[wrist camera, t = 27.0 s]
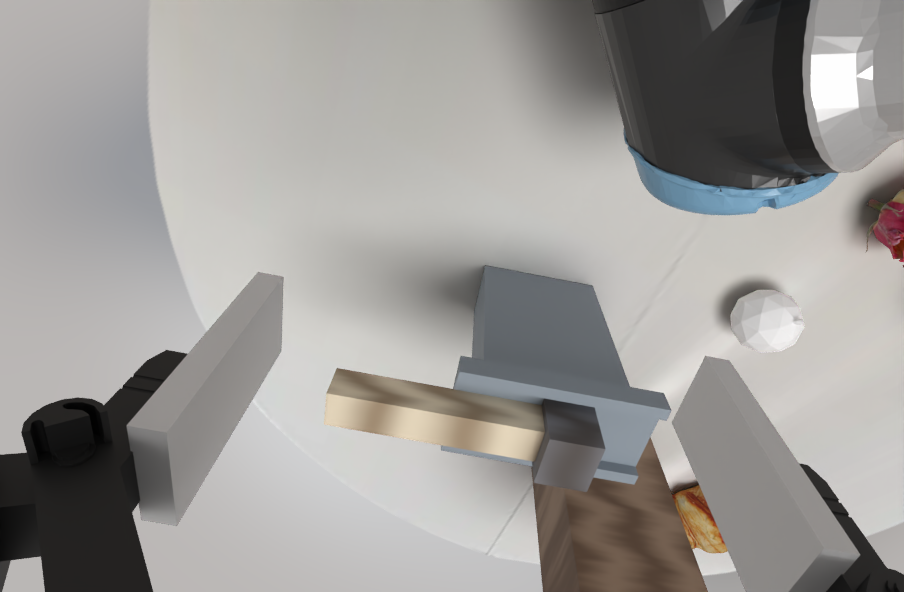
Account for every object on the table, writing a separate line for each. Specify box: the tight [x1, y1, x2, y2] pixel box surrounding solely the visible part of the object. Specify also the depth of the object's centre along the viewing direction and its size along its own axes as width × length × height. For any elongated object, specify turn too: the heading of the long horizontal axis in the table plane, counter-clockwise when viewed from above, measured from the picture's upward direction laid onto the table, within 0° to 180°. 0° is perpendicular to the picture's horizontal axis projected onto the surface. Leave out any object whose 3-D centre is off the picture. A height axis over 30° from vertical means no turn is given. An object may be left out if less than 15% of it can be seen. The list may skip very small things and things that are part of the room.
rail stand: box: [441, 265, 671, 485], centre depth 50 cm, size 16×8×21 cm, turn 80°
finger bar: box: [324, 368, 606, 492], centre depth 40 cm, size 20×4×4 cm, turn 80°
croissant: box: [672, 485, 728, 553], centre depth 71 cm, size 21×10×8 cm, turn 127°
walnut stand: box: [531, 438, 708, 592], centre depth 56 cm, size 12×10×30 cm
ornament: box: [730, 290, 805, 353], centre depth 55 cm, size 6×7×7 cm
